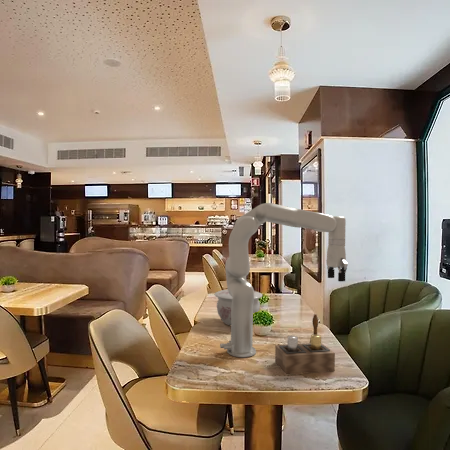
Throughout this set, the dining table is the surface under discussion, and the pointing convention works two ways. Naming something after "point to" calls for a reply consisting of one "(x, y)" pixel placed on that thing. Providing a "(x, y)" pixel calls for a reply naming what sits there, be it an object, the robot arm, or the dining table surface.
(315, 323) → the hand bell
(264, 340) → the dining table surface
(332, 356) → the walnut block
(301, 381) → the dining table surface
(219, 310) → the chamber pot
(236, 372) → the dining table surface
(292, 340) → the steel plunger
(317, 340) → the brass plunger
